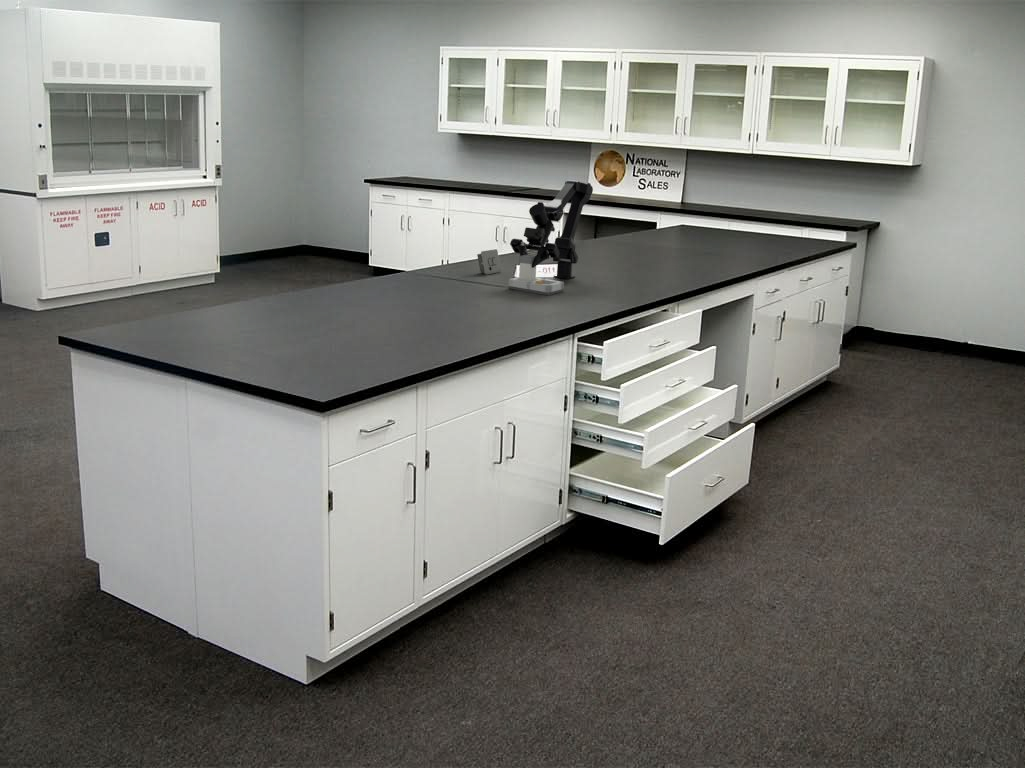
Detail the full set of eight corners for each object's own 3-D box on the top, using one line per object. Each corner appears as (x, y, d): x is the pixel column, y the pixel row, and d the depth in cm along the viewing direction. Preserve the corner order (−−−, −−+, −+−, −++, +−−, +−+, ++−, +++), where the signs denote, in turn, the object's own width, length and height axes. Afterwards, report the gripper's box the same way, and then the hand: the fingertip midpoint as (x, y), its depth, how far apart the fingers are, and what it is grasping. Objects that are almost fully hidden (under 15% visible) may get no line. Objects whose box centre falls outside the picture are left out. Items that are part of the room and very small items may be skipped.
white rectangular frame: (524, 284, 383) (524, 273, 382) (563, 291, 374) (564, 279, 373) (508, 288, 375) (508, 277, 374) (548, 295, 366) (549, 283, 364)
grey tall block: (524, 283, 379) (526, 254, 376) (535, 285, 377) (536, 255, 374) (518, 285, 375) (520, 255, 372) (529, 287, 373) (530, 257, 370)
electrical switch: (486, 275, 400) (485, 251, 398) (476, 274, 403) (475, 251, 401) (501, 272, 407) (500, 249, 405) (491, 271, 410) (490, 248, 408)
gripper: (513, 216, 377) (497, 249, 371) (557, 221, 368) (541, 255, 362) (523, 235, 386) (507, 268, 380) (566, 241, 377) (551, 274, 371)
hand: (526, 266), depth 373 cm, fingers open, 5 cm apart
